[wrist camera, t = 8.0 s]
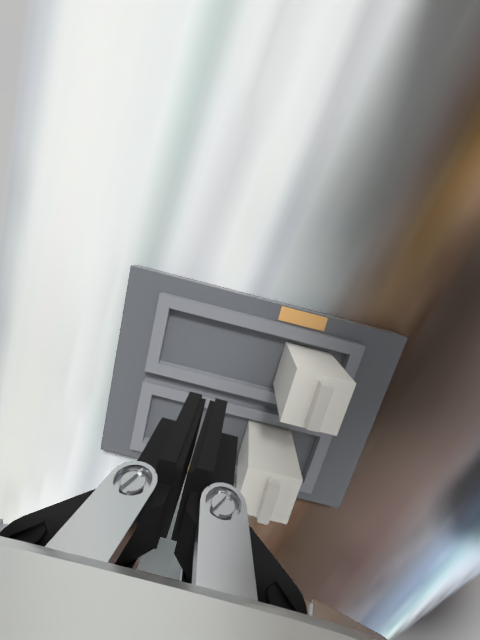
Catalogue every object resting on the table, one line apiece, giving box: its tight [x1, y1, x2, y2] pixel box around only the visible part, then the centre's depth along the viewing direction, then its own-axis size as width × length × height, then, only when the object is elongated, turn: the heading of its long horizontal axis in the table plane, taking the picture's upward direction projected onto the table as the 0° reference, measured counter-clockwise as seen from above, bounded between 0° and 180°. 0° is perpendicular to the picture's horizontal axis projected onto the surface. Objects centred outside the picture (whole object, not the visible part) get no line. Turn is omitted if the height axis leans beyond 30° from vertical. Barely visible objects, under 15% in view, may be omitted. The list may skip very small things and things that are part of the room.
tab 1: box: [236, 419, 303, 525], centre depth 23 cm, size 4×4×7 cm
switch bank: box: [101, 265, 408, 508], centre depth 26 cm, size 18×24×2 cm
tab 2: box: [273, 342, 356, 436], centre depth 21 cm, size 4×4×7 cm
